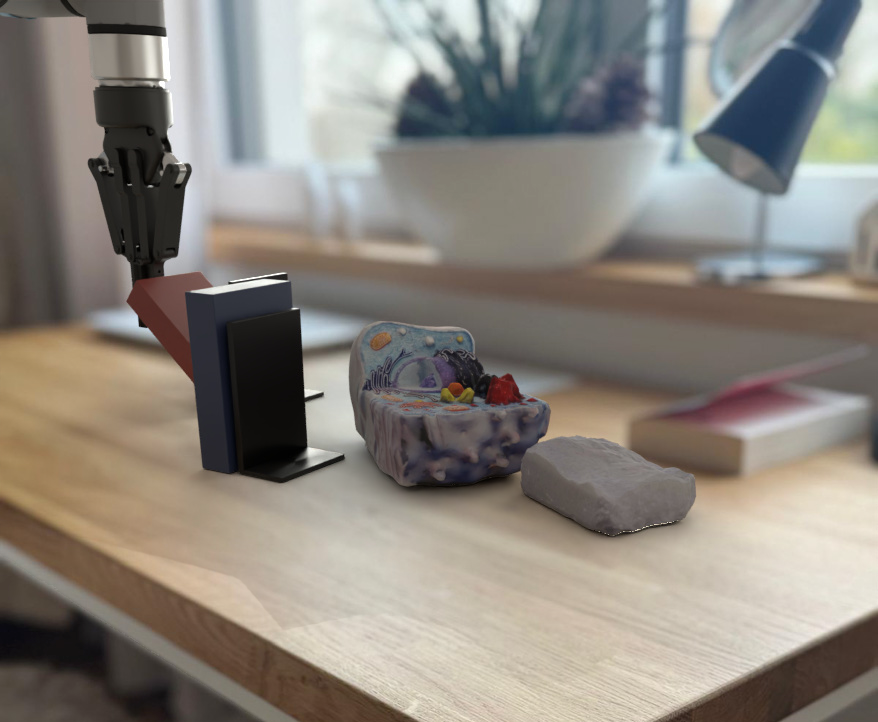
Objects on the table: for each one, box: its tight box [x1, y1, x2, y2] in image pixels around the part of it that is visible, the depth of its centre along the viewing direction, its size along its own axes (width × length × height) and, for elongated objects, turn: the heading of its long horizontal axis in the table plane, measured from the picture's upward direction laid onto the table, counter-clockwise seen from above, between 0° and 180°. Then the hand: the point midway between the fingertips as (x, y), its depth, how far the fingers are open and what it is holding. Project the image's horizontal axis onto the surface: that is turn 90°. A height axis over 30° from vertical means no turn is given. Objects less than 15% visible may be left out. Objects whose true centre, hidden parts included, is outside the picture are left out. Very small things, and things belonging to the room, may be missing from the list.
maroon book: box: [126, 270, 214, 384], centre depth 112 cm, size 14×9×3 cm
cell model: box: [348, 320, 552, 488], centre depth 87 cm, size 13×11×20 cm
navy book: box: [185, 279, 294, 474], centre depth 88 cm, size 14×9×3 cm
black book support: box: [227, 307, 346, 484], centre depth 86 cm, size 5×8×12 cm, turn 147°
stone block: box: [520, 434, 697, 536], centre depth 78 cm, size 12×5×10 cm
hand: (151, 325), depth 116 cm, fingers closed
